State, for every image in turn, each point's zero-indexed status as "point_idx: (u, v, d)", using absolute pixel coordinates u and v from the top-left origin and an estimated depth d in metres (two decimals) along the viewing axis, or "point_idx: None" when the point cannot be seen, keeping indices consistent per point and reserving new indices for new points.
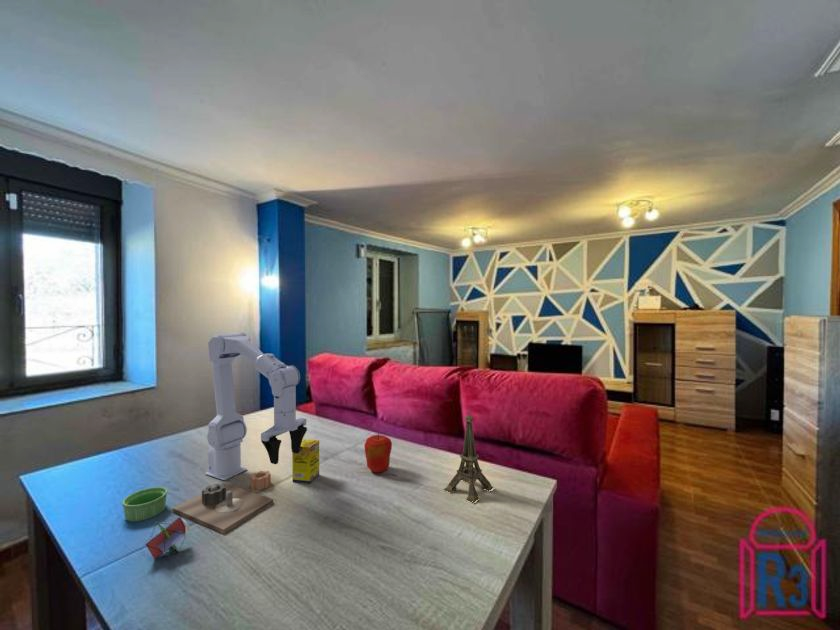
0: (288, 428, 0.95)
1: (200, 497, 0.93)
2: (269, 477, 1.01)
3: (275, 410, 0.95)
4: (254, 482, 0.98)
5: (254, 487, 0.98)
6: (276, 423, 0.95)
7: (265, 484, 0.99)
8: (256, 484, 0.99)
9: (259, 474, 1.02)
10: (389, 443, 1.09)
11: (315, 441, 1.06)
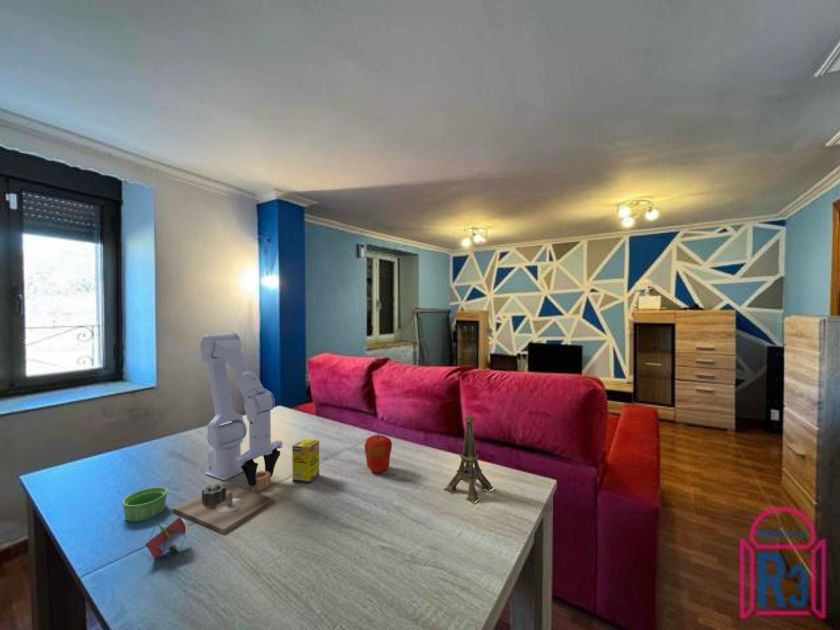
0: (262, 452, 0.98)
1: (200, 497, 0.93)
2: (269, 477, 1.01)
3: (250, 435, 0.98)
4: None
5: (254, 487, 0.98)
6: (250, 447, 0.98)
7: (265, 484, 0.99)
8: (256, 484, 0.99)
9: (259, 474, 1.02)
10: (389, 443, 1.09)
11: (315, 441, 1.06)
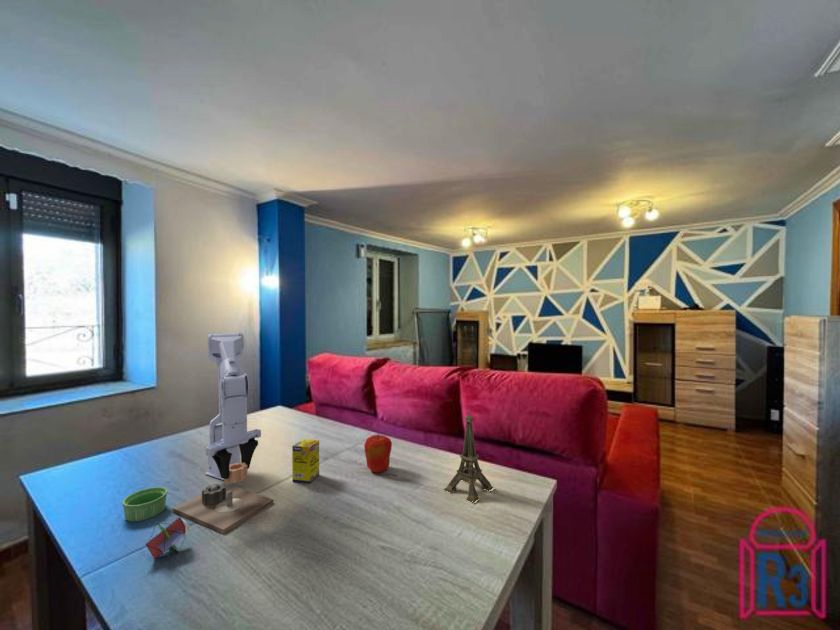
0: (237, 441, 0.88)
1: (200, 497, 0.93)
2: (245, 469, 0.91)
3: None
4: None
5: (228, 480, 0.88)
6: (224, 435, 0.88)
7: (240, 477, 0.89)
8: (230, 477, 0.88)
9: (234, 466, 0.92)
10: (389, 443, 1.09)
11: (315, 441, 1.06)
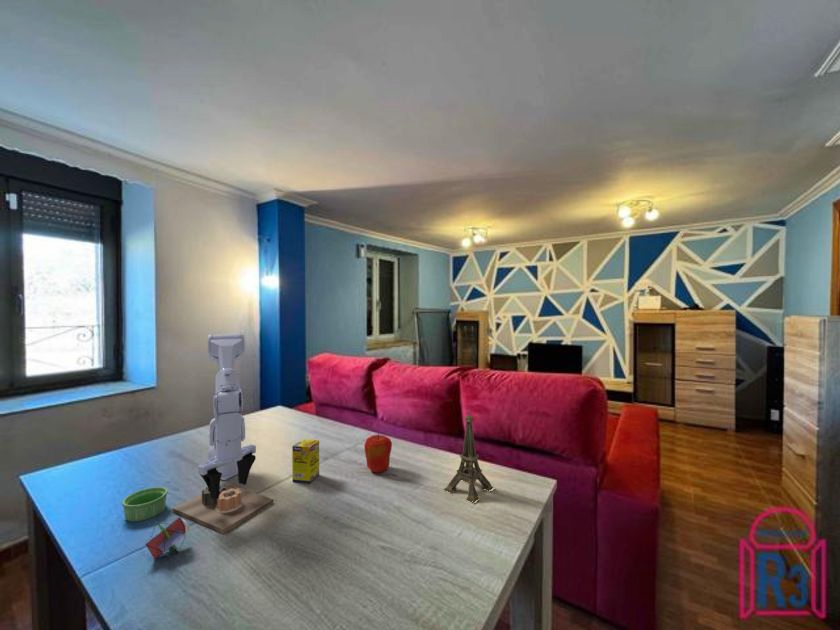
0: (231, 459, 0.86)
1: (200, 497, 0.93)
2: (239, 496, 0.89)
3: None
4: (221, 502, 0.86)
5: (221, 508, 0.86)
6: (217, 453, 0.86)
7: (234, 504, 0.87)
8: (223, 505, 0.86)
9: None
10: (389, 443, 1.09)
11: (315, 441, 1.06)
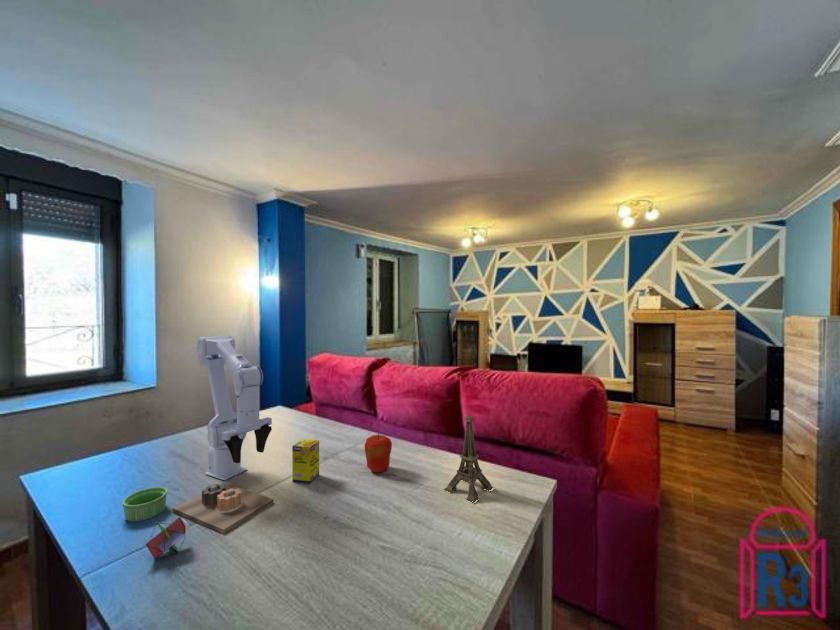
0: (251, 427, 0.96)
1: (200, 497, 0.93)
2: (239, 496, 0.89)
3: (237, 409, 0.96)
4: (221, 502, 0.86)
5: (221, 508, 0.86)
6: (238, 422, 0.96)
7: (234, 504, 0.87)
8: (223, 505, 0.86)
9: None
10: (389, 443, 1.09)
11: (315, 441, 1.06)
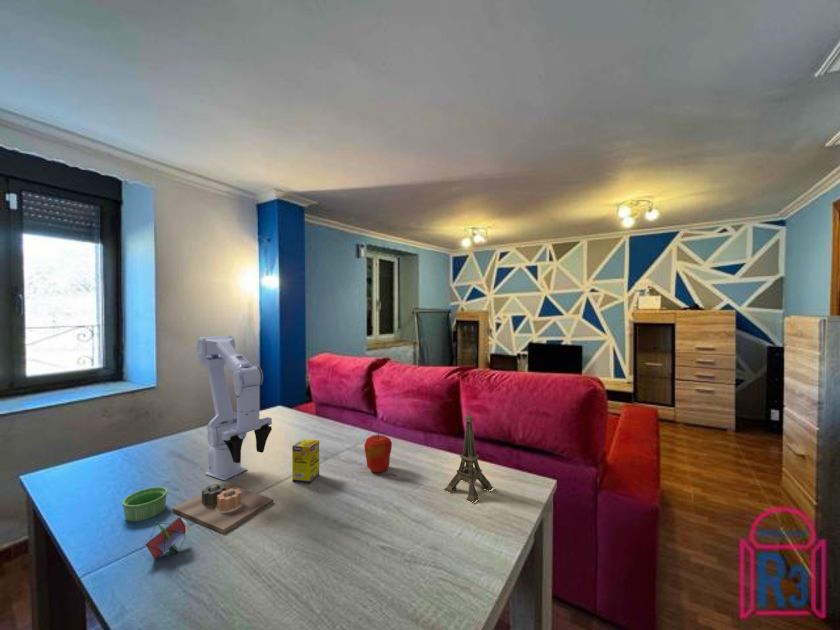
0: (251, 427, 0.96)
1: (200, 497, 0.93)
2: (239, 496, 0.89)
3: (237, 409, 0.97)
4: (221, 502, 0.86)
5: (221, 508, 0.86)
6: (238, 422, 0.96)
7: (234, 504, 0.87)
8: (223, 505, 0.86)
9: None
10: (389, 443, 1.09)
11: (315, 441, 1.06)
